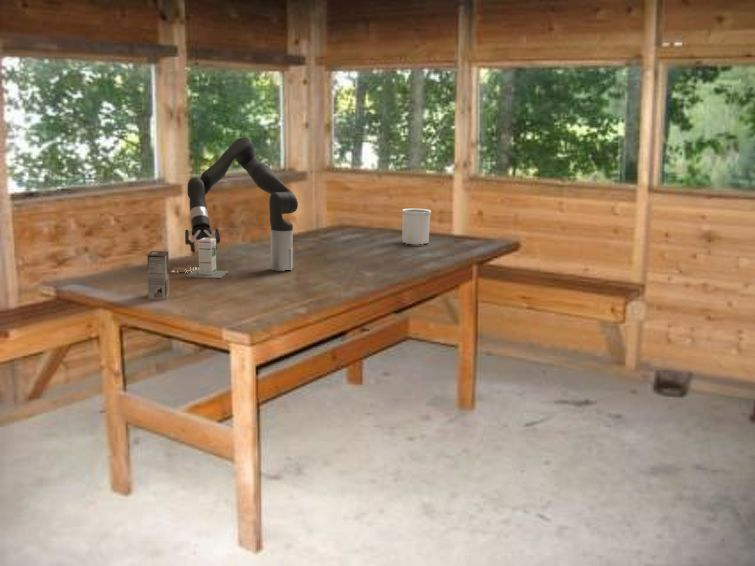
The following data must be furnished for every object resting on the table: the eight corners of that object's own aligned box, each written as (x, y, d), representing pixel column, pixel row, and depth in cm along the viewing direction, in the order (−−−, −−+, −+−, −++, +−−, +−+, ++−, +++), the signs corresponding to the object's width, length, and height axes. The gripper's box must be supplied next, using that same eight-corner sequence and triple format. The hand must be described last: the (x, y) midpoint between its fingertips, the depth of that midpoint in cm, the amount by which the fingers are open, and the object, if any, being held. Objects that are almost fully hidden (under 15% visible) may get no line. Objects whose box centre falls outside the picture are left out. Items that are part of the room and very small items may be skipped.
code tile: (205, 267, 372) (205, 267, 372) (199, 273, 360) (199, 272, 360) (178, 266, 372) (178, 266, 372) (170, 272, 361) (170, 271, 361)
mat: (228, 272, 365) (228, 271, 365) (221, 278, 351) (220, 277, 351) (194, 270, 365) (194, 269, 365) (186, 277, 351) (186, 276, 351)
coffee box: (151, 293, 320) (151, 250, 317) (169, 294, 321) (169, 250, 318) (147, 299, 312) (146, 255, 308) (166, 299, 312) (165, 255, 309)
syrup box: (212, 275, 355) (212, 240, 352) (198, 274, 356) (198, 239, 353) (216, 272, 361) (216, 238, 358) (203, 271, 361) (202, 237, 358)
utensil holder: (430, 246, 448) (431, 212, 445) (401, 245, 448) (402, 211, 445) (428, 241, 463) (430, 208, 459) (400, 240, 463) (402, 208, 459)
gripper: (215, 224, 375) (220, 255, 367) (182, 225, 370) (186, 256, 362) (217, 214, 369) (222, 245, 361) (183, 214, 364) (187, 246, 356)
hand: (204, 251), depth 361 cm, fingers open, 8 cm apart
